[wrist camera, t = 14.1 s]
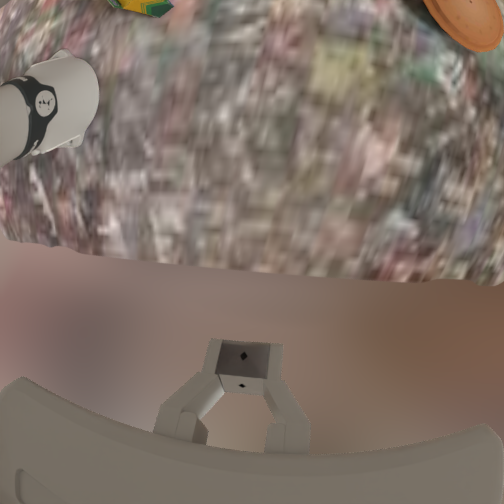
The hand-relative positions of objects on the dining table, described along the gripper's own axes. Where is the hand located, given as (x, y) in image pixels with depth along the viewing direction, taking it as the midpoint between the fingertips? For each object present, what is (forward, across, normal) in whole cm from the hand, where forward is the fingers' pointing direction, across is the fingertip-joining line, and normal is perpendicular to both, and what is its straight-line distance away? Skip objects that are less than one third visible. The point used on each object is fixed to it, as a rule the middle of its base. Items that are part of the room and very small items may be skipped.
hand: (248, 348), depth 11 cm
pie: (+32, -26, -26) cm, 48 cm away
